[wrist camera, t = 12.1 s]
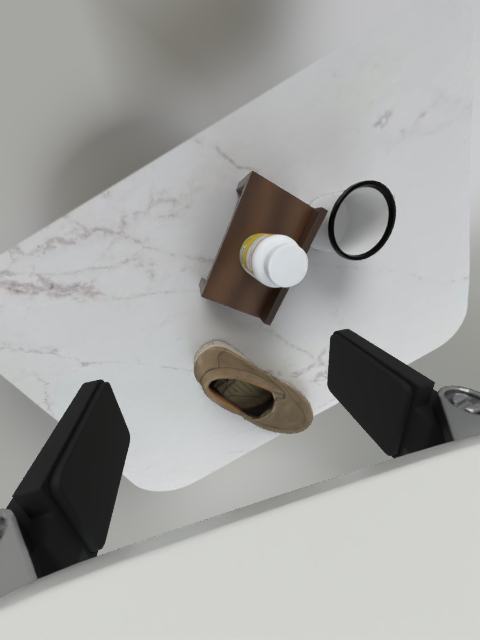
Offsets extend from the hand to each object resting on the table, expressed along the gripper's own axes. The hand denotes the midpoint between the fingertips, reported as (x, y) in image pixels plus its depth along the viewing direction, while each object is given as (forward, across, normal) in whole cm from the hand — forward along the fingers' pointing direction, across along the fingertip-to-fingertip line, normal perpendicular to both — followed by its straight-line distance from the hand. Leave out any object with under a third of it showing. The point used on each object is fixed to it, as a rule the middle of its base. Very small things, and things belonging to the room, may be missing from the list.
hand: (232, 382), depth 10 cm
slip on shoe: (+29, -8, +25) cm, 39 cm away
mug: (+29, -23, -5) cm, 37 cm away
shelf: (+29, -8, -2) cm, 30 cm away
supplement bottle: (+22, -8, -2) cm, 24 cm away
